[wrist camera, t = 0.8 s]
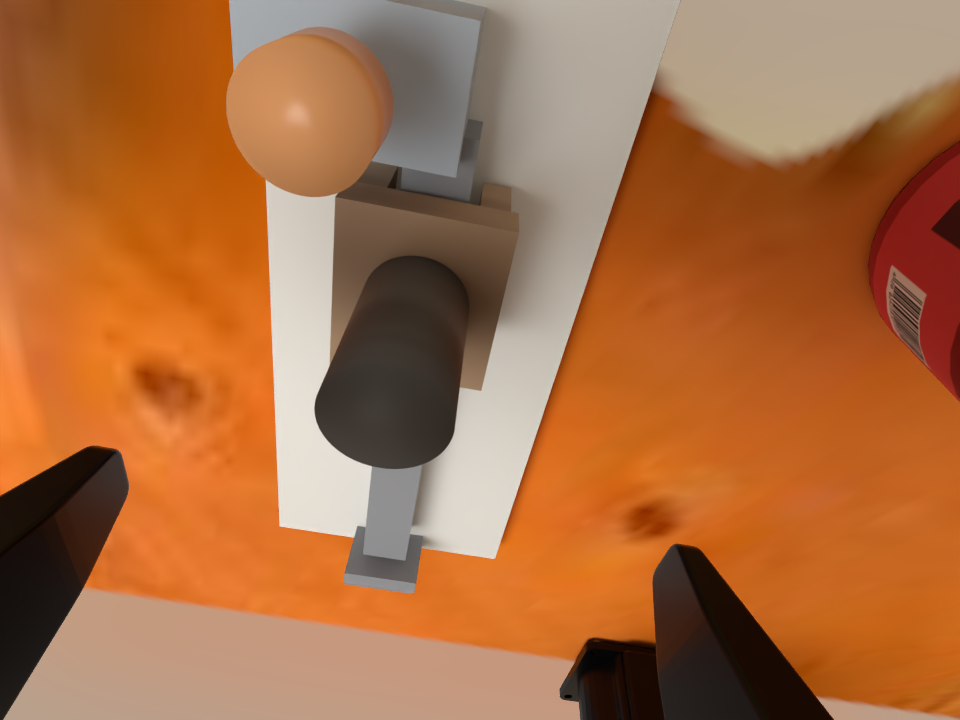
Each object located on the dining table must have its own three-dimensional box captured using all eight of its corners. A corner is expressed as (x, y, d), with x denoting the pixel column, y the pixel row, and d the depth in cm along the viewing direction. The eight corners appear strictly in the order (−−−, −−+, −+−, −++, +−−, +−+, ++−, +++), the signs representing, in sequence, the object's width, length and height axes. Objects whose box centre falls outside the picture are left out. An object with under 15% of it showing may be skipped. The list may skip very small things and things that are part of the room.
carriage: (485, 334, 19) (472, 516, 13) (353, 310, 19) (276, 485, 13) (518, 189, 16) (520, 337, 10) (362, 158, 16) (268, 291, 10)
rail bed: (495, 540, 28) (492, 620, 24) (286, 508, 27) (255, 585, 24) (677, -23, 14) (726, -12, 11) (269, -116, 13) (192, -134, 10)
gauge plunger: (388, 175, 12) (370, 209, 10) (267, 151, 11) (231, 182, 10) (399, 42, 10) (380, 59, 9) (262, 13, 10) (219, 25, 8)
